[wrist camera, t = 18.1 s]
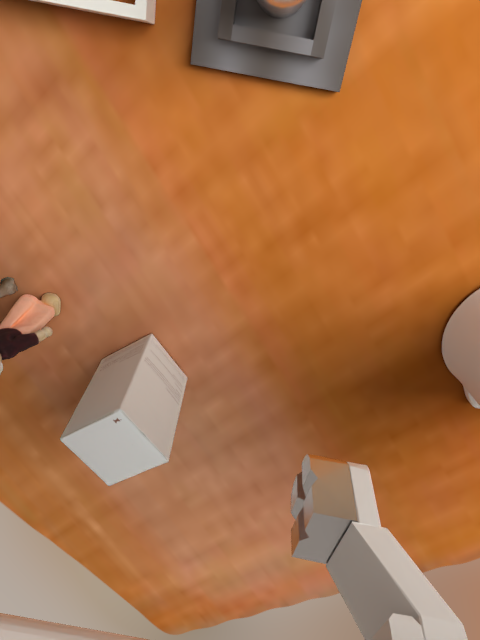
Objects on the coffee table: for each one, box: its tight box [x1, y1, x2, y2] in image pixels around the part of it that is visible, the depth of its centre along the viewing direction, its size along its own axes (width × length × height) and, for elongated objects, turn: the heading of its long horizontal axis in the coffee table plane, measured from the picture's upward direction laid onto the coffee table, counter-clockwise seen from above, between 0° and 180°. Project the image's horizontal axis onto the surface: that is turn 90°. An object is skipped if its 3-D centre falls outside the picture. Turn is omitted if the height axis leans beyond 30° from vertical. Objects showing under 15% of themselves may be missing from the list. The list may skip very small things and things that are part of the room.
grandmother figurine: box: [0, 293, 61, 373], centre depth 42 cm, size 8×4×13 cm, turn 111°
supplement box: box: [60, 334, 187, 486], centre depth 45 cm, size 7×7×13 cm
